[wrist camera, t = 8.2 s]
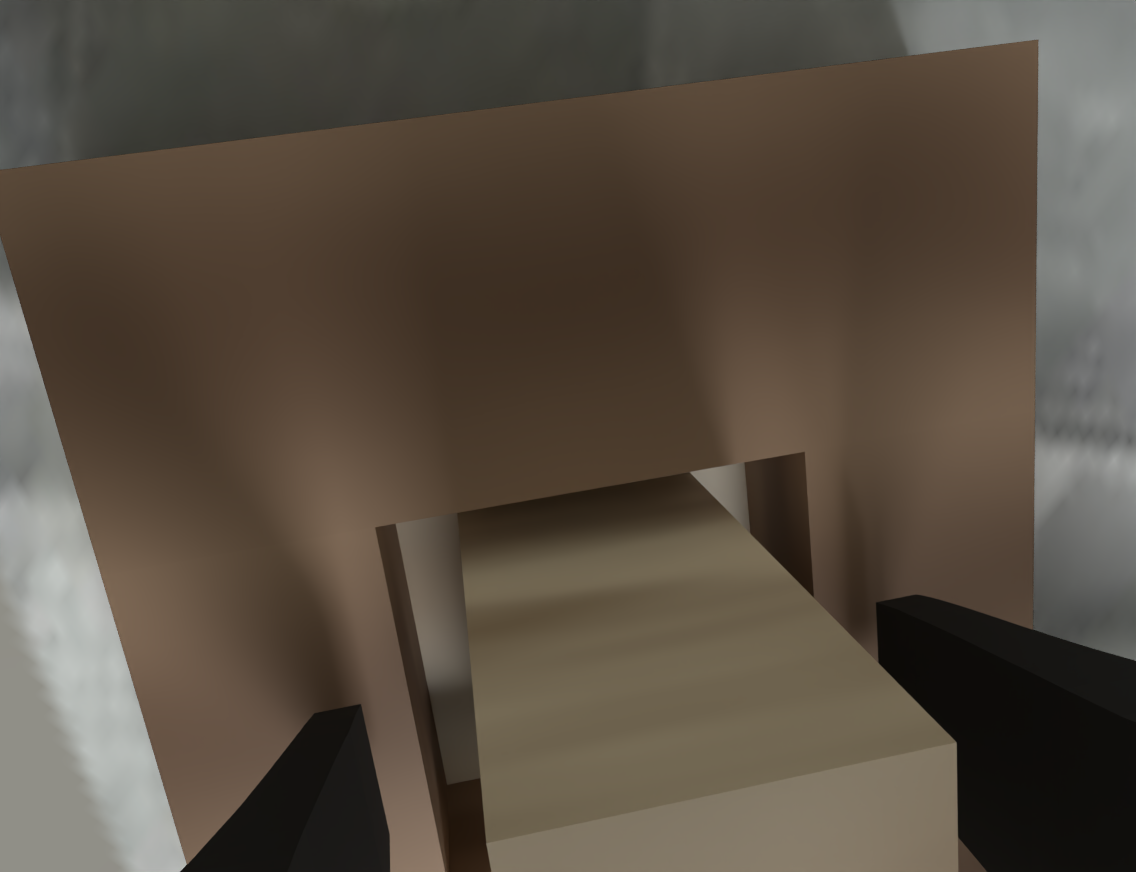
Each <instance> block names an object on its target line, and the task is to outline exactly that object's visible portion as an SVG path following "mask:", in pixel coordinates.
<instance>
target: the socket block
mask: <svg viewBox="0 0 1136 872" xmlns="http://www.w3.org/2000/svg"><path fill="white" fill-rule="evenodd" d="M1037 134H1038V40H1032V41H1024V42H1016V43H1008V44H1000V45H992V46H984V47H976V48H968V49H960V50H952V51H944V52H936V53H928V54H920V55H912V56H904V57H896V58H888V59H880V60H872V61H864V62H856V63H848V64H841V65H833V66H825V67H817V68H809V69H801V70H793V71H785V72H777V73H769V74H761V75H753V76H745V77H737V78H729V79H721V80H713V81H705V82H697V83H689V84H681V85H673V86H665V87H657V88H649V89H641V90H633V91H625V92H617V93H609V94H602V95H594V96H586V97H578V98H570V99H562V100H554V101H546V102H538V103H530V104H522V105H514V106H506V107H498V108H490V109H482V110H474V111H466V112H458V113H450V114H442V115H434V116H426V117H418V118H410V119H402V120H394V121H386V122H378V123H370V124H363V125H355V126H347V127H339V128H331V129H323V130H315V131H307V132H299V133H291V134H283V135H275V136H267V137H259V138H251V139H243V140H235V141H227V142H219V143H211V144H203V145H195V146H187V147H179V148H171V149H163V150H155V151H147V152H139V153H131V154H123V155H116V156H108V157H100V158H92V159H84V160H76V161H68V162H60V163H52V164H44V165H36V166H28V167H20V168H12V169H4V170H0V236H1V240H2V243H3V247H4V250H5V253H6V257H7V260H8V263H9V267H10V270H11V273H12V277H13V280H14V284H15V287H16V290H17V294H18V297H19V300H20V304H21V307H22V311H23V314H24V317H25V321H26V324H27V327H28V331H29V334H30V337H31V341H32V344H33V348H34V351H35V354H36V358H37V361H38V364H39V368H40V371H41V375H42V378H43V381H44V385H45V388H46V391H47V395H48V398H49V401H50V405H51V408H52V412H53V415H54V418H55V422H56V425H57V428H58V432H59V435H60V439H61V442H62V445H63V449H64V452H65V455H66V459H67V462H68V465H69V469H70V472H71V476H72V479H73V482H74V486H75V489H76V492H77V496H78V499H79V503H80V506H81V509H82V513H83V516H84V519H85V523H86V526H87V529H88V533H89V536H90V540H91V543H92V546H93V550H94V553H95V556H96V560H97V563H98V567H99V570H100V573H101V577H102V580H103V583H104V587H105V590H106V593H107V597H108V600H109V604H110V607H111V610H112V614H113V617H114V620H115V624H116V627H117V631H118V634H119V637H120V641H121V644H122V647H123V651H124V654H125V657H126V661H127V664H128V668H129V671H130V674H131V678H132V681H133V684H134V688H135V691H136V695H137V698H138V701H139V705H140V708H141V711H142V715H143V718H144V721H145V725H146V728H147V732H148V735H149V738H150V742H151V745H152V748H153V752H154V755H155V759H156V762H157V765H158V769H159V772H160V775H161V779H162V782H163V786H164V789H165V792H166V796H167V799H168V802H169V806H170V809H171V812H172V816H173V819H174V823H175V826H176V829H177V833H178V836H179V839H180V843H181V846H182V849H183V853H184V856H185V860H186V863H187V864H188V863H189V862H190V861H191V860H192V859H193V858H194V857H195V856H196V855H197V854H198V852H199V851H200V850H201V849H202V848H203V847H204V846H205V845H206V844H207V842H208V841H209V840H210V839H211V838H212V837H213V836H214V835H215V834H216V832H217V831H218V830H219V829H220V828H221V827H222V826H223V825H224V824H225V822H226V821H227V820H228V819H229V818H230V817H231V816H232V815H233V814H234V812H235V811H236V810H237V809H238V808H239V807H240V806H241V805H242V803H243V802H244V801H245V800H246V798H247V797H248V796H249V795H250V794H251V792H252V791H253V790H254V789H255V787H256V786H257V785H258V784H259V782H260V781H261V780H262V779H263V777H264V776H265V775H266V774H267V773H268V771H269V770H270V769H271V767H272V766H273V765H274V764H275V762H276V761H277V760H278V759H279V757H280V756H281V755H282V753H283V752H284V751H285V750H286V748H287V747H288V746H289V744H290V743H291V742H292V741H293V739H294V738H295V737H296V735H297V734H298V733H299V732H300V730H301V729H302V728H303V726H304V725H305V724H306V723H307V721H308V720H309V719H310V718H311V717H312V715H313V714H314V713H318V712H323V711H328V710H333V709H338V708H343V707H348V706H353V705H358V704H361V706H362V711H363V715H364V720H365V725H366V729H367V734H368V738H369V743H370V747H371V752H372V756H373V761H374V765H375V770H376V774H377V779H378V783H379V788H380V792H381V797H382V801H383V806H384V811H385V815H386V820H387V824H388V829H389V833H390V872H491V867H490V861H489V856H488V850H487V845H486V835H485V823H484V812H483V800H482V789H481V777H480V766H479V755H478V743H477V732H476V720H475V709H474V698H473V686H472V675H471V663H470V652H469V641H468V629H467V618H466V606H465V595H464V583H463V572H462V561H461V549H460V538H459V526H458V515H457V513H459V512H465V511H470V510H476V509H482V508H487V507H493V506H499V505H504V504H510V503H516V502H521V501H527V500H533V499H538V498H544V497H550V496H556V495H561V494H567V493H573V492H579V491H584V490H590V489H596V488H602V487H608V486H613V485H619V484H625V483H631V482H637V481H642V480H648V479H654V478H660V477H666V476H672V475H677V474H683V473H689V472H690V473H691V474H692V475H693V476H694V477H695V478H696V479H697V480H698V481H699V482H700V483H701V484H702V485H703V486H704V487H705V488H706V489H707V490H708V491H709V492H710V493H711V494H712V495H713V496H714V497H715V498H716V499H717V500H718V501H719V502H720V503H721V504H722V505H723V506H724V508H725V509H726V510H727V511H728V512H729V513H730V514H731V515H732V516H733V517H734V518H735V519H736V520H737V521H738V522H739V523H740V524H741V525H742V526H743V527H744V528H745V529H746V530H747V531H748V532H749V533H750V534H751V535H752V536H753V537H754V538H755V539H756V540H757V541H758V542H759V543H760V544H761V545H762V546H763V547H764V548H765V549H766V550H767V551H768V552H769V553H770V554H771V555H772V556H773V557H774V558H775V559H776V560H777V561H778V562H779V563H780V564H781V565H782V566H783V567H784V568H785V569H786V570H787V571H788V572H789V573H790V574H791V575H792V576H793V577H794V578H795V579H796V580H797V581H798V582H799V583H800V584H801V585H802V586H803V587H804V588H805V589H806V590H807V591H808V592H809V594H810V595H811V596H812V597H813V598H814V599H815V600H816V601H817V602H818V603H819V604H820V605H821V606H822V607H823V608H824V609H825V610H826V611H827V612H828V613H829V614H830V615H831V616H832V617H833V618H834V619H835V620H836V621H837V622H838V623H839V624H840V625H841V626H842V627H843V628H844V629H845V630H846V631H847V632H848V633H849V634H850V635H851V636H852V637H853V638H854V639H855V640H856V641H857V642H858V643H859V644H860V645H861V646H862V647H863V648H864V649H865V650H866V651H867V652H868V653H869V654H870V655H871V656H872V657H873V658H874V659H875V660H876V661H877V662H878V642H877V619H876V602H880V601H885V600H890V599H895V598H900V597H905V596H910V595H915V594H918V595H923V596H927V597H932V598H935V599H939V600H943V601H946V602H950V603H953V604H956V605H959V606H963V607H966V608H969V609H972V610H975V611H978V612H981V613H984V614H987V615H990V616H993V617H996V618H999V619H1002V620H1005V621H1008V622H1011V623H1014V624H1017V625H1020V626H1023V627H1026V628H1029V629H1032V630H1033V571H1034V461H1035V352H1036V243H1037ZM958 872H987V871H986V870H985V869H984V867H983V866H982V865H981V864H980V863H979V861H978V860H977V859H976V858H975V857H974V856H973V854H972V853H971V852H970V851H969V850H968V848H967V847H966V846H965V845H964V844H963V843H962V841H961V840H960V839H959V838H958Z"/></svg>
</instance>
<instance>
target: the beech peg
mask: <svg viewBox="0 0 1136 872" xmlns="http://www.w3.org/2000/svg"><path fill="white" fill-rule="evenodd" d="M457 515H458V526H459V538H460V549H461V561H462V572H463V583H464V595H465V606H466V618H467V629H468V641H469V652H470V663H471V675H472V686H473V698H474V709H475V720H476V732H477V743H478V755H479V766H480V777H481V789H482V800H483V812H484V823H485V835H486V845H487V850H488V856H489V861H490V867H491V872H958V809H957V742H956V741H955V740H954V739H953V738H952V737H951V736H950V735H949V734H948V733H947V732H946V731H945V730H944V729H943V728H942V727H941V726H940V725H939V724H938V723H937V722H936V721H935V720H934V719H933V718H932V717H931V716H930V715H929V714H928V713H927V712H926V711H925V710H924V709H923V708H922V707H921V706H920V705H919V704H918V703H917V702H916V701H915V700H914V699H913V698H912V697H911V696H910V695H909V694H908V693H907V692H906V691H905V690H904V689H903V688H902V687H901V686H900V685H899V684H898V683H897V682H896V681H895V680H894V678H893V677H892V676H891V675H890V674H889V673H888V672H887V671H886V670H885V669H884V668H883V667H882V666H881V665H880V664H879V663H878V662H877V661H876V660H875V659H874V658H873V657H872V656H871V655H870V654H869V653H868V652H867V651H866V650H865V649H864V648H863V647H862V646H861V645H860V644H859V643H858V642H857V641H856V640H855V639H854V638H853V637H852V636H851V635H850V634H849V633H848V632H847V631H846V630H845V629H844V628H843V627H842V626H841V625H840V624H839V623H838V622H837V621H836V620H835V619H834V618H833V617H832V616H831V615H830V614H829V613H828V612H827V611H826V610H825V609H824V608H823V607H822V606H821V605H820V604H819V603H818V602H817V601H816V600H815V599H814V598H813V597H812V596H811V595H810V594H809V592H808V591H807V590H806V589H805V588H804V587H803V586H802V585H801V584H800V583H799V582H798V581H797V580H796V579H795V578H794V577H793V576H792V575H791V574H790V573H789V572H788V571H787V570H786V569H785V568H784V567H783V566H782V565H781V564H780V563H779V562H778V561H777V560H776V559H775V558H774V557H773V556H772V555H771V554H770V553H769V552H768V551H767V550H766V549H765V548H764V547H763V546H762V545H761V544H760V543H759V542H758V541H757V540H756V539H755V538H754V537H753V536H752V535H751V534H750V533H749V532H748V531H747V530H746V529H745V528H744V527H743V526H742V525H741V524H740V523H739V522H738V521H737V520H736V519H735V518H734V517H733V516H732V515H731V514H730V513H729V512H728V511H727V510H726V509H725V508H724V506H723V505H722V504H721V503H720V502H719V501H718V500H717V499H716V498H715V497H714V496H713V495H712V494H711V493H710V492H709V491H708V490H707V489H706V488H705V487H704V486H703V485H702V484H701V483H700V482H699V481H698V480H697V479H696V478H695V477H694V476H693V475H692V474H691V473H690V472H689V473H683V474H677V475H672V476H666V477H660V478H654V479H648V480H642V481H637V482H631V483H625V484H619V485H613V486H608V487H602V488H596V489H590V490H584V491H579V492H573V493H567V494H561V495H556V496H550V497H544V498H538V499H533V500H527V501H521V502H516V503H510V504H504V505H499V506H493V507H487V508H482V509H476V510H470V511H465V512H459V513H457Z"/></svg>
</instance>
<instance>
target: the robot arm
mask: <svg viewBox="0 0 1136 872" xmlns="http://www.w3.org/2000/svg"><path fill="white" fill-rule="evenodd" d="M876 619H877V642H878V663H879V664H880V665H881V666H882V667H883V668H884V669H885V670H886V671H887V672H888V673H889V674H890V675H891V676H892V677H893V678H894V680H895V681H896V682H897V683H898V684H899V685H900V686H901V687H902V688H903V689H904V690H905V691H906V692H907V693H908V694H909V695H910V696H911V697H912V698H913V699H914V700H915V701H916V702H917V703H918V704H919V705H920V706H921V707H922V708H923V709H924V710H925V711H926V712H927V713H928V714H929V715H930V716H931V717H932V718H933V719H934V720H935V721H936V722H937V723H938V724H939V725H940V726H941V727H942V728H943V729H944V730H945V731H946V732H947V733H948V734H949V735H950V736H951V737H952V738H953V739H954V740H955V741H956V742H957V809H958V838H959V839H960V840H961V841H962V843H963V844H964V845H965V846H966V847H967V848H968V850H969V851H970V852H971V853H972V854H973V856H974V857H975V858H976V859H977V860H978V861H979V863H980V864H981V865H982V866H983V867H984V869H985V870H986V871H987V872H1136V661H1134V660H1131V659H1127V658H1123V657H1120V656H1116V655H1113V654H1109V653H1106V652H1102V651H1099V650H1095V649H1092V648H1089V647H1085V646H1082V645H1079V644H1076V643H1072V642H1069V641H1066V640H1063V639H1060V638H1057V637H1053V636H1050V635H1047V634H1044V633H1041V632H1038V631H1035V630H1032V629H1029V628H1026V627H1023V626H1020V625H1017V624H1014V623H1011V622H1008V621H1005V620H1002V619H999V618H996V617H993V616H990V615H987V614H984V613H981V612H978V611H975V610H972V609H969V608H966V607H963V606H959V605H956V604H953V603H950V602H946V601H943V600H939V599H935V598H932V597H927V596H923V595H918V594H915V595H910V596H905V597H900V598H895V599H890V600H885V601H880V602H876ZM180 872H390V833H389V829H388V824H387V820H386V815H385V811H384V806H383V801H382V797H381V792H380V788H379V783H378V779H377V774H376V770H375V765H374V761H373V756H372V752H371V747H370V743H369V738H368V734H367V729H366V725H365V720H364V715H363V711H362V706H361V704H358V705H353V706H348V707H343V708H338V709H333V710H328V711H323V712H318V713H314V714H313V715H312V717H311V718H310V719H309V720H308V721H307V723H306V724H305V725H304V726H303V728H302V729H301V730H300V732H299V733H298V734H297V735H296V737H295V738H294V739H293V741H292V742H291V743H290V744H289V746H288V747H287V748H286V750H285V751H284V752H283V753H282V755H281V756H280V757H279V759H278V760H277V761H276V762H275V764H274V765H273V766H272V767H271V769H270V770H269V771H268V773H267V774H266V775H265V776H264V777H263V779H262V780H261V781H260V782H259V784H258V785H257V786H256V787H255V789H254V790H253V791H252V792H251V794H250V795H249V796H248V797H247V798H246V800H245V801H244V802H243V803H242V805H241V806H240V807H239V808H238V809H237V810H236V811H235V812H234V814H233V815H232V816H231V817H230V818H229V819H228V820H227V821H226V822H225V824H224V825H223V826H222V827H221V828H220V829H219V830H218V831H217V832H216V834H215V835H214V836H213V837H212V838H211V839H210V840H209V841H208V842H207V844H206V845H205V846H204V847H203V848H202V849H201V850H200V851H199V852H198V854H197V855H196V856H195V857H194V858H193V859H192V860H191V861H190V862H189V863H188V864H187V865H186V866H185V867H184V868H183V869H182V870H181V871H180Z"/></svg>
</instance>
